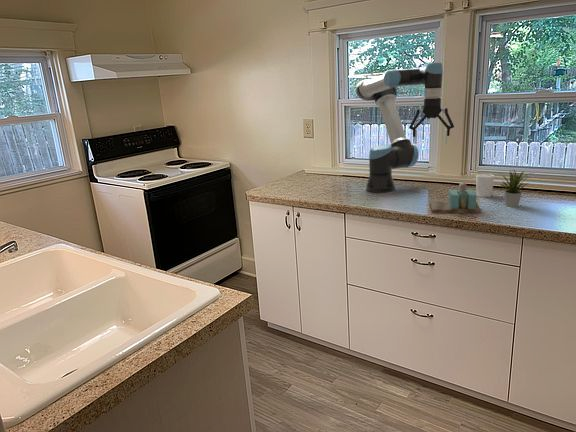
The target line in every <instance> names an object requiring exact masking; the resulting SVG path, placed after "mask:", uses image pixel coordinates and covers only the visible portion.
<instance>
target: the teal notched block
mask: <svg viewBox="0 0 576 432" xmlns="http://www.w3.org/2000/svg"><path fill="white" fill-rule="evenodd" d="M448 191H449V192H448V202H449V205H450V207H451V209H458V207H460V206H461V198H466V205H465V207H467V208H468V209H476V202H477V197H478V196H477V195H476V192H475V191H474V190H473V189H466V194H459V189H449V190H448Z"/></svg>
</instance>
